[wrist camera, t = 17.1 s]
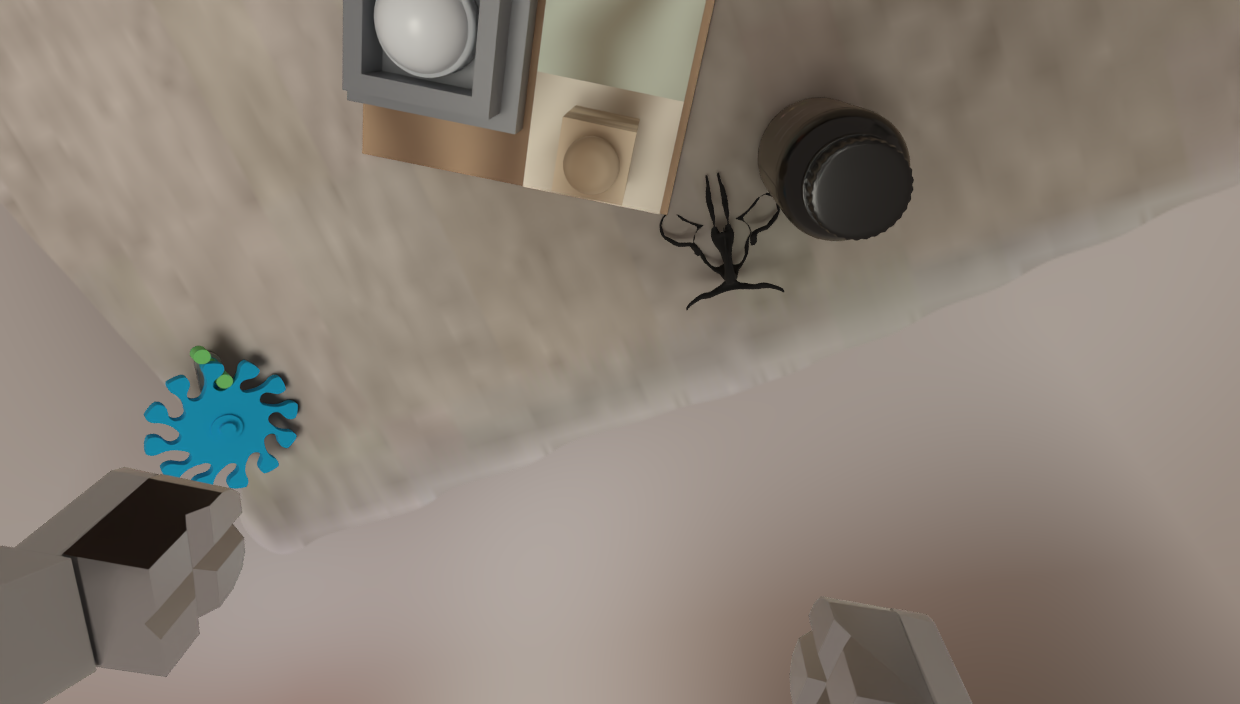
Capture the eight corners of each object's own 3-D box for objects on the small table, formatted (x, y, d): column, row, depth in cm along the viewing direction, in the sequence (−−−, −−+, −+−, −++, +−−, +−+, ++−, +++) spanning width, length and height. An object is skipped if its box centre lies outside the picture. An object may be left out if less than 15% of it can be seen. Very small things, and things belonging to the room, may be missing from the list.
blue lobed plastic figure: (311, 469, 53) (163, 516, 47) (288, 446, 57) (149, 486, 51) (287, 335, 50) (123, 366, 44) (264, 321, 54) (112, 347, 48)
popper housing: (546, -53, 38) (527, -67, 33) (524, 127, 43) (504, 142, 37) (371, -91, 38) (323, -111, 32) (367, 95, 42) (324, 105, 37)
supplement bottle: (885, 169, 42) (961, 216, 32) (787, 226, 44) (827, 289, 34) (836, 70, 40) (900, 85, 29) (735, 135, 42) (761, 172, 31)
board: (753, -177, 35) (755, -181, 35) (666, 212, 44) (666, 215, 44) (375, -261, 35) (368, -267, 34) (366, 151, 44) (361, 153, 43)
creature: (652, 187, 45) (674, 303, 47) (647, 186, 40) (672, 316, 41) (770, 162, 44) (788, 282, 45) (781, 158, 39) (801, 293, 40)
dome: (487, -18, 36) (464, -25, 32) (478, 83, 39) (455, 90, 34) (392, -38, 36) (355, -48, 32) (388, 64, 38) (354, 69, 34)
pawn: (639, 119, 41) (634, 139, 34) (626, 183, 43) (619, 216, 35) (575, 105, 41) (556, 122, 33) (565, 170, 43) (544, 201, 35)
